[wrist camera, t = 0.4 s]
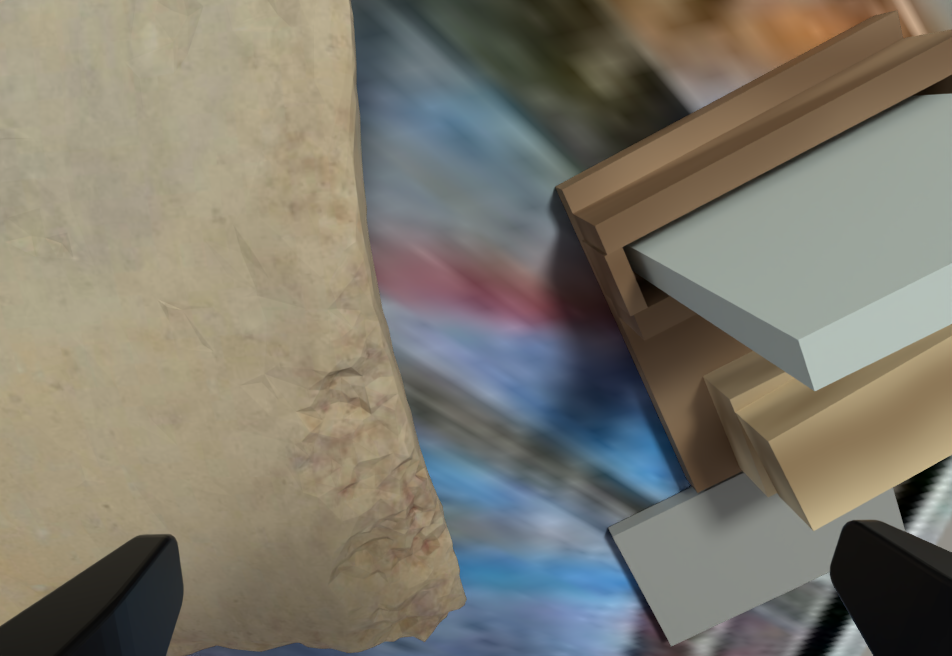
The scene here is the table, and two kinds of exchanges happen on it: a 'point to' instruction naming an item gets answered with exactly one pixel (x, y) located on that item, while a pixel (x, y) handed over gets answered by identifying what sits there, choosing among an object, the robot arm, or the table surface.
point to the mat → (728, 551)
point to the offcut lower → (735, 392)
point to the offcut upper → (856, 430)
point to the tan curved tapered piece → (204, 325)
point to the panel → (824, 247)
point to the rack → (715, 173)
